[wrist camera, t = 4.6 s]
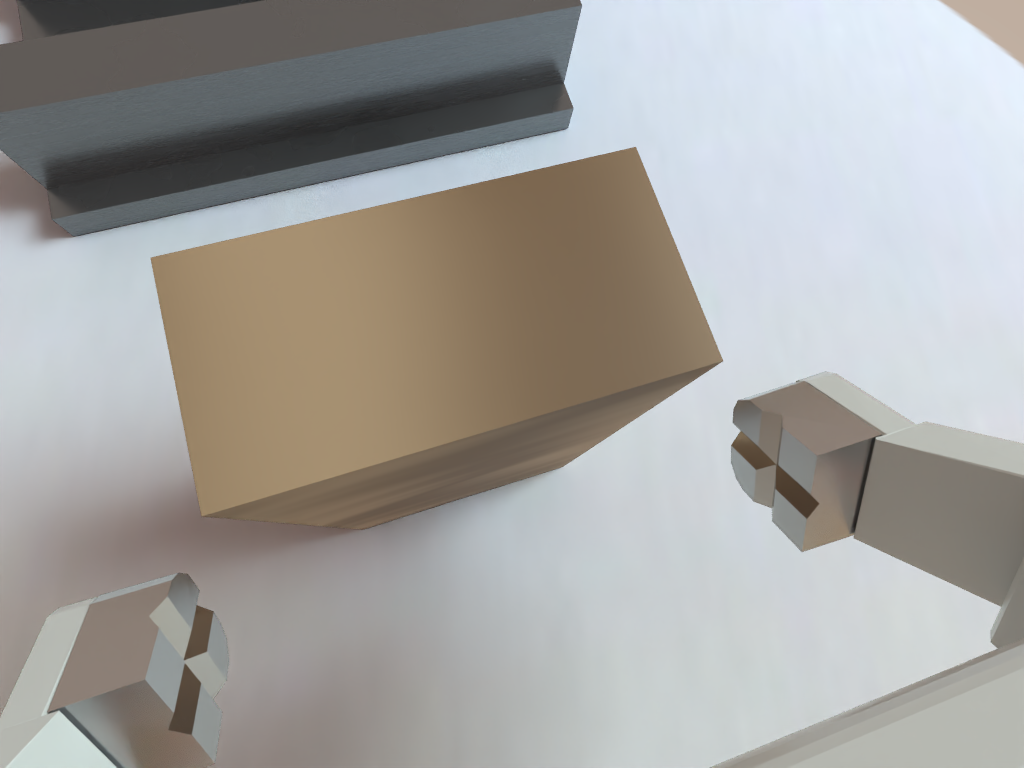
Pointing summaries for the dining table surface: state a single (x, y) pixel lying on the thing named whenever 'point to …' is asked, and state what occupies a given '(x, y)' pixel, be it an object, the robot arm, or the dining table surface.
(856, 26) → the dining table surface
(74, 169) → the door track
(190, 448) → the wooden block
